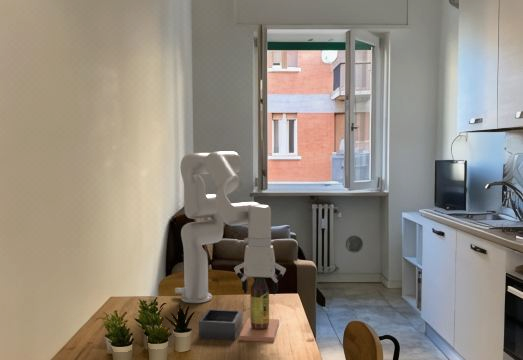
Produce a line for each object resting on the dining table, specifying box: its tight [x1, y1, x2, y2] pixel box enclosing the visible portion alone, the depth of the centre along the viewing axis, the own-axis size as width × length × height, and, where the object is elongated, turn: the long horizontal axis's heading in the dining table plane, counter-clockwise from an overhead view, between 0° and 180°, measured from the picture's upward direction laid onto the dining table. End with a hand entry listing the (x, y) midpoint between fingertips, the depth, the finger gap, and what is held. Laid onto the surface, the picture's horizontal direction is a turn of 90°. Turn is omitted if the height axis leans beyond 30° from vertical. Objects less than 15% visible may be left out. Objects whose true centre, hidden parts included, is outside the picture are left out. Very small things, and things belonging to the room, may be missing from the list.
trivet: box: [239, 317, 280, 343], centre depth 160 cm, size 11×16×2 cm
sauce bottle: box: [249, 277, 270, 329], centre depth 160 cm, size 7×6×20 cm
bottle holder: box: [198, 308, 243, 341], centre depth 160 cm, size 12×12×6 cm
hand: (260, 292), depth 160 cm, fingers open, 9 cm apart
